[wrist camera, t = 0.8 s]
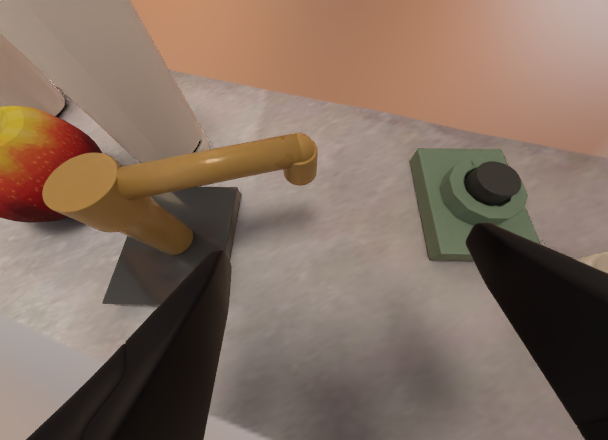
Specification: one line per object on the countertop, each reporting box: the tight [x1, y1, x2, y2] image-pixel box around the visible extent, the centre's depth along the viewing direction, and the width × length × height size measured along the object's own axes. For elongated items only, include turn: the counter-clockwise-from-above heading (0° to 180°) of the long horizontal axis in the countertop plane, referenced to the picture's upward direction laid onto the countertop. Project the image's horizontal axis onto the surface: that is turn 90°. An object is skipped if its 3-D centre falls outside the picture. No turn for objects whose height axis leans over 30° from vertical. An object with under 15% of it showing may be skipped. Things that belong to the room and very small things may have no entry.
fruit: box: [0, 106, 102, 222], centre depth 21 cm, size 11×11×10 cm
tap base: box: [102, 187, 241, 306], centre depth 19 cm, size 12×10×8 cm
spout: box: [42, 133, 317, 232], centre depth 15 cm, size 16×4×3 cm, turn 103°
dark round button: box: [465, 161, 521, 205], centre depth 20 cm, size 4×4×2 cm
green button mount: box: [410, 148, 541, 261], centre depth 22 cm, size 12×9×4 cm
